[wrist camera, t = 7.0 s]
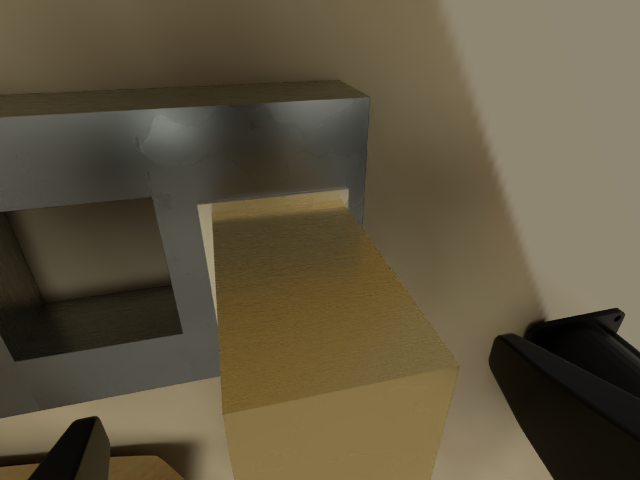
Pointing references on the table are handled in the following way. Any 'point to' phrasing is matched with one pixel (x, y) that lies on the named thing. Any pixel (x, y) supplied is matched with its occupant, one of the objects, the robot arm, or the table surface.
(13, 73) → the table surface
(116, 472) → the knife block
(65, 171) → the rail plate
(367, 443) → the wooden square beam
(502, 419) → the table surface
